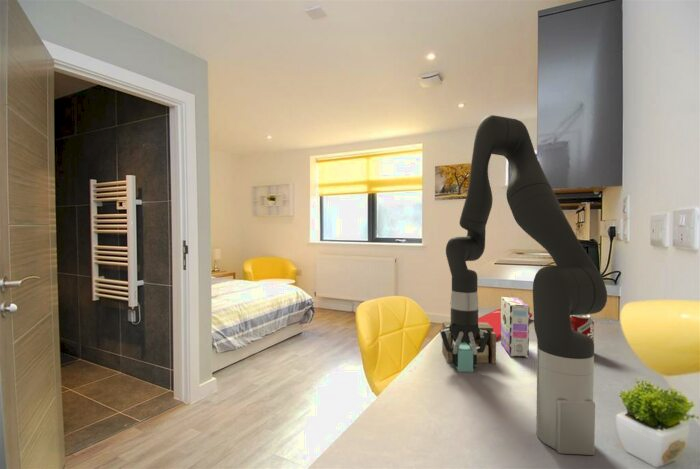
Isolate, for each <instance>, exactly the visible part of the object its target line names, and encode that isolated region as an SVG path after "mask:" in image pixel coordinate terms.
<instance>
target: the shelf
mask: <svg viewBox="0 0 700 469" xmlns="http://www.w3.org/2000/svg"><path fill="white" fill-rule="evenodd" d="M450 324H451V321H442V329H443V330H445V329H448V328H449V326H450ZM478 327H479V328H480V330H483V331H484V330H486V331H487V332H488V333H489V338H488V341H487V345H488V346H489V349H488V362H490V363H491V364H492V365H496V364H497V340H496V333H495V332H493V327H492V326H490V325H489V324H488V323H485V322H478ZM451 337H453V335H452V334H451V333H449V336H448V337H447V340H448V343H449V346H451ZM480 338H481V337H480V333H479V334H478V335H477V336H476V338H475V339H474V340H480ZM441 340H442V339H441ZM441 342H442V344H441V346H442V350H441V351H442V355H443V356H444V358H445V361H446V362H447V363H448V364H450V363H452V361H451V352H448V351H447V350H446V349H445V346H444V343H443V340H442V341H441ZM467 344H468V345H469V343H467ZM469 346H470V345H469Z"/></svg>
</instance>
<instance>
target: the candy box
mask: <svg viewBox="0 0 700 469" xmlns="http://www.w3.org/2000/svg"><path fill="white" fill-rule="evenodd" d="M500 309H501V338H500V344H501V346H502V347H503V349H504V350H505V351H506V353H507V354H508V356H509V357H514V358H526V359H529V357H530V351H529V350H530V349H529V348H530V319H529V313H530V305H528V304H527V303H526V302H525V301H523V300H522V299H520V298H519V297H510V296H500Z"/></svg>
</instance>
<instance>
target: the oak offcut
mask: <svg viewBox="0 0 700 469" xmlns="http://www.w3.org/2000/svg"><path fill="white" fill-rule="evenodd" d="M474 341H475V344H476V347H478V344H479V341H480V340H474ZM488 349H489V346H488V345H487V344H486V347H485V350H484V352H483V353H481V352H480V353H478V354H477V363H489V359H488Z"/></svg>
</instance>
